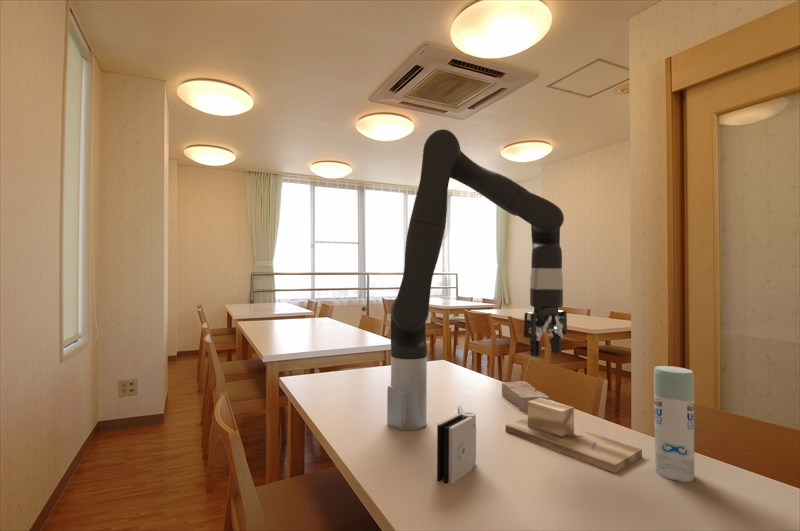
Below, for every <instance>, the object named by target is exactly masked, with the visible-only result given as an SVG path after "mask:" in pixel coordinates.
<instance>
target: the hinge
mask: <svg viewBox="0 0 800 531" xmlns="http://www.w3.org/2000/svg"><path fill="white" fill-rule="evenodd" d="M476 420H477V417H476V413H475V412H472V411H464V410H463V406H462V405H457V414H455V415H453V416H451V417H448V418H447V419H445V420H442V421H441V422H438V423H437V425H436V436H437V437H436V445H437V446H436V454H437V455H436V460H437V461H436V481H438V482H442V481H443V484H445V485H446V484H448V483H449V484H454V483H456V482H457V481H459V479H461V478H462V477H464V476H465V475H467V474H468V473H469V472H471V471H472V470H473V468H474V467H475V466H476V459H477V458H476V457H477V422H476Z"/></svg>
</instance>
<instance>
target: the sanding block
mask: <svg viewBox="0 0 800 531" xmlns="http://www.w3.org/2000/svg"><path fill="white" fill-rule="evenodd" d="M527 418H528V427H531V428H534V429H536V430H539V431H542V432H545V433H548V434H551V435H553V436H556V437H559V438H564V437H567V436H569V435H572V434H574V428H575V407H574V406H571V405H567V404H563V403H560V402H556V401H552V400H550V399H549V400H546V399H542V398H538V399H534V400H531V401H528V412H527Z"/></svg>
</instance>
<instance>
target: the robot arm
mask: <svg viewBox="0 0 800 531" xmlns="http://www.w3.org/2000/svg"><path fill="white" fill-rule="evenodd" d="M420 170H421V171H420V178H419V179H420V180H419V183H418V187H417V192H416V194H415V199H414V202H413V207H412V210H411V214H410V219H409V223H408V228H407V232H406V240H405V247H404V250H405V251H404V267H403V275H402V280H401V283H400V286H399V290H398V293H397V295H396V298H395V299H394V300H393V301H392V304H391V308H390V385H388V386H387V393H386V394H387V396H386V397H387V398H386V399H387V400H386V401H387V403H386V405H387V408H386V409H387V410H386V412H387V413H386V415H387V416H386V418H387V420H386V421H387V422H386V424H387V425H389V426H392V427H393V428H396V429H398V430H400V431H408V430H410V431H411V430H413V431H414V430H419V429H422V428H424V427H426V425H427V404H428V403H427V402H428V401H427V394H428V393H427V387H428V386H427V385H428V384H427V380H428V376H427V375H428V374H427V373H428V371H427V370H428V368H427V366H428V362H427V361H428V356H427V355H428V346H427V335H426V334H427V332H426V323H427V320H428V318H429V311H430V310H429V309H430V301H431V300H430V299H431V291H432V289H431V288H432V283H433V282H432V281H433V277H434V273H435V270H436V266H437V263H438V261H439V260H438V259H439V256H440V253H441V248H442V245H443V244H442V243H443V240H444V234H445V230H446V223H447V215H448V191H449V190H448V189H449V183H450V179H452V180H455V181H457V182H459V183H461V184H463V185H465V186H467V187H468V188H471V190H473V191H475V192H477V193H478V194H479V195H481V196H482V197H484V198H485V199H487V200H488V201H489V202H492V203H493V204H495V205H496V206H498V207H499V208H500V209H502V210H504V211H506V212H507V213H509V214H510V215H512V216H516V217H519V218H521V219H522V220H523V221H525V222H526V223H528V224H530V226H531V228H530V230H531V245H532V247H531V248H532V249H531V262H530V263H531V266H530V268H531V270H530V278H529V280H530V281H529V286H530V287H529V290H530V291H529V295H530V297H529V298H530V299H529V305H530V306H531V307H533V312H531V311H525V312H524V316H523V317H524V320H523V324H524V325H523V337H524V338H525V339H526V338H527V339H528V340H529V343H530V344H529V345H530V346H529V348H530V349H529V350H530V351H529V352H530V355H531V356H532V357H535V358H538V357H539V358H540V356H541V338H542V336H543V334H545V333H546V331H549V333H550V335H551V341H550V342H551V348H550V349H551V352H552V353H555V354H561V352H562V338H563V337H564V335H567V334H568V324H567V322H568V321H567V320H568V318H567V311H566V310H562V309H561V310H560V308H562V307H563V306H564V277H563V253H562V248H561V244H560V242H561V240H560V239H561V227H562V226H563V223H564V220H565V217H564V216H565V215H564V213H563V211H562V209H561V208H560V207H559V206H558V205H556V204H555V203H553V202H552V201H550V200H548V199H546V198H544V197H541V196H540V195H537V194H536V193H533V192H531V191H529V190H528V189H526V188H525V187H523V186H522V185H520V184H518V182H516V181H514V180H512V179H511V178H509V177H507V176H505V175H503V174H500V173H499V172H496V171H493V170H490V169H488V168H485V167H483V166H481V165H480V164H478V163H476V162H475V161H473V160H472V159H470V157H468V156H467V155H466V154H465V153H464V152H463V151H462V150H461V145H460V142H459V140H458V138H457V136H456V135H455V134H454V133H453V132H452V131H451V130H448V129H444V128H441V129H436V130H434V131H433V132H431V134H430V135H429V136H427V138H426V140H425V142H424V144H423V150H422V161H421V169H420ZM529 329H530V330H529ZM529 331H530V332H529Z"/></svg>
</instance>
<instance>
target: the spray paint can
mask: <svg viewBox="0 0 800 531" xmlns="http://www.w3.org/2000/svg"><path fill="white" fill-rule="evenodd" d="M653 402H654V404H653V405H654V409H653V410H654V416H653V417H654V459H655V460H654V461H655V462H654V463H655V464H654V465H655V466H654V468H655V471H656V473H657V474H658V475H660V476H662V477H663V478H666V479H669V480H672V481H676V482H681V483H682V482H683V483H685V482H686V483H689V482H692V481H694V480H695V374H694V371H693V370H691V369H688V368H684V367H679V366H670V365H659V366H655V367H654V370H653Z"/></svg>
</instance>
